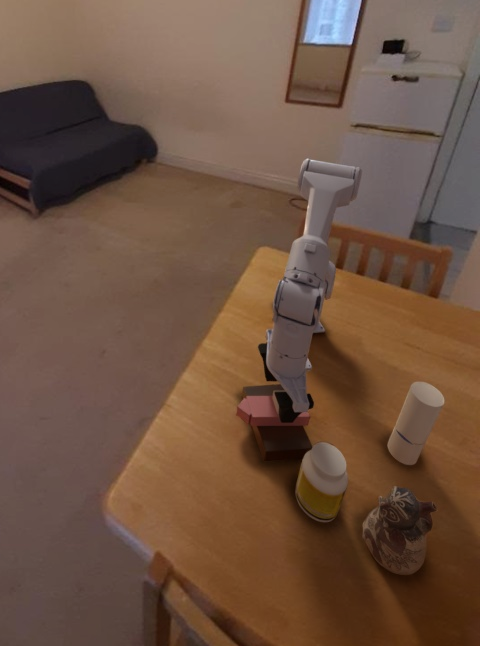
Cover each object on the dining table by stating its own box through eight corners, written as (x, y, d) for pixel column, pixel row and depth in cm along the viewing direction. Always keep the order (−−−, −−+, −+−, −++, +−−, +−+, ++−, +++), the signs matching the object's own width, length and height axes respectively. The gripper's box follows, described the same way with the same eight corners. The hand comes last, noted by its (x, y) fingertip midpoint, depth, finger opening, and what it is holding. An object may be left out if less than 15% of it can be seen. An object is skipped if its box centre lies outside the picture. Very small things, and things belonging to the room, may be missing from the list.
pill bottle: (342, 528, 60) (359, 486, 55) (298, 519, 61) (310, 477, 56) (331, 482, 65) (345, 440, 61) (291, 474, 67) (301, 433, 62)
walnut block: (241, 396, 79) (242, 386, 78) (281, 393, 80) (283, 383, 78) (264, 462, 69) (266, 451, 67) (310, 458, 69) (313, 448, 67)
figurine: (361, 505, 62) (380, 459, 57) (416, 529, 59) (441, 484, 54) (363, 559, 57) (384, 513, 51) (424, 588, 54) (452, 544, 48)
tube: (413, 443, 70) (439, 385, 64) (420, 468, 67) (448, 410, 60) (384, 435, 72) (407, 378, 65) (390, 460, 68) (415, 402, 61)
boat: (299, 404, 74) (303, 387, 72) (308, 425, 71) (312, 408, 69) (233, 404, 75) (235, 387, 73) (239, 426, 71) (241, 409, 69)
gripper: (335, 384, 58) (319, 441, 64) (297, 310, 71) (287, 363, 77) (286, 384, 58) (274, 441, 64) (257, 311, 72) (249, 364, 77)
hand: (278, 399), depth 71 cm, fingers open, 7 cm apart
